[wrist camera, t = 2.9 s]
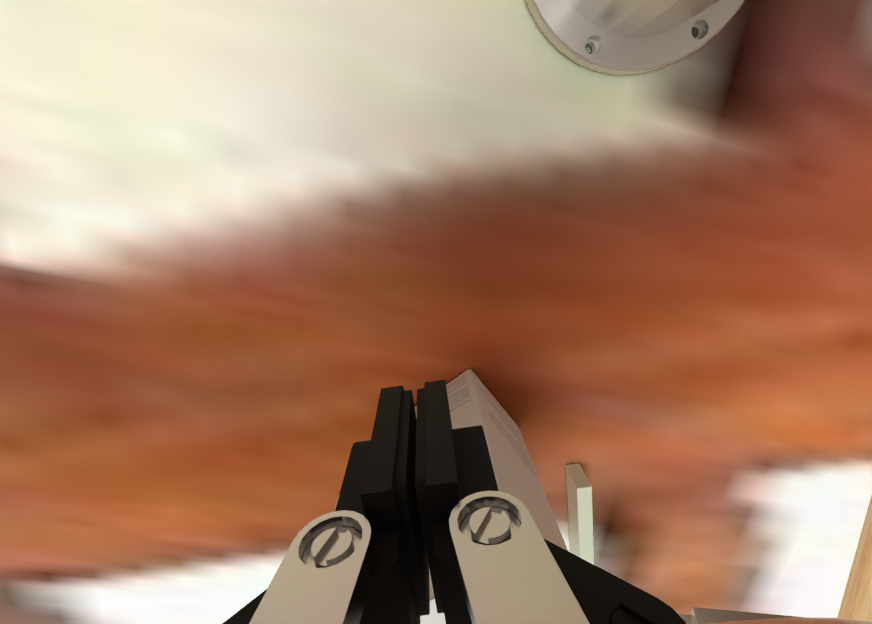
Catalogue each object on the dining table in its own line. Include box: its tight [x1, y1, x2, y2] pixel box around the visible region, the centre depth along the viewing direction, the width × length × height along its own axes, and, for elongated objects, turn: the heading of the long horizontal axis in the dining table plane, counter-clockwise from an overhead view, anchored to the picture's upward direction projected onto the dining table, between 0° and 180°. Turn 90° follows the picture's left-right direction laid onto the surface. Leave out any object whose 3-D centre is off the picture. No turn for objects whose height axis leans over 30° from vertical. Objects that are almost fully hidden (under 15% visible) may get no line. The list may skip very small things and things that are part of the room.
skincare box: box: [415, 369, 568, 624], centre depth 23 cm, size 8×7×16 cm
